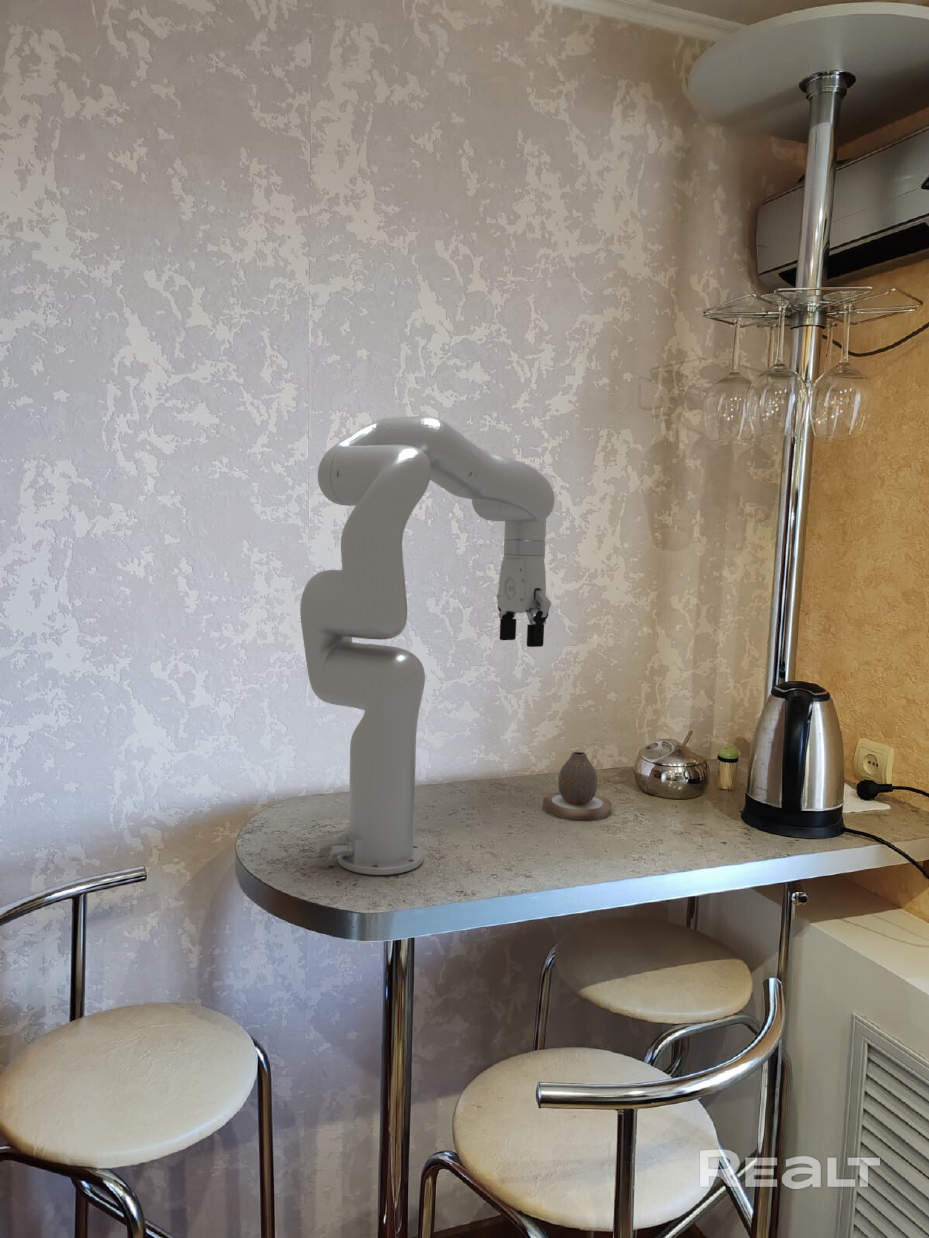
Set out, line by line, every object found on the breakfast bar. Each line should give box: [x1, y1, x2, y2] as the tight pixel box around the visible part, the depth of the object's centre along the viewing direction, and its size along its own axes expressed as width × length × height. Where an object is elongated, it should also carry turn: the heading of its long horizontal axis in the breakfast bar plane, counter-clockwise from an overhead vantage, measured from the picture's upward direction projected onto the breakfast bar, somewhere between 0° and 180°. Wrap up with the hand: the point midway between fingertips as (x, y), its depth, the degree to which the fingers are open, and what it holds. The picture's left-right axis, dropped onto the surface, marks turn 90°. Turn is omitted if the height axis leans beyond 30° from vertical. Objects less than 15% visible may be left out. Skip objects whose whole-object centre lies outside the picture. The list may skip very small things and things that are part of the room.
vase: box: [557, 751, 599, 805], centre depth 157 cm, size 7×7×9 cm
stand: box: [542, 792, 613, 822], centre depth 157 cm, size 12×12×2 cm
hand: (520, 643), depth 164 cm, fingers open, 9 cm apart
